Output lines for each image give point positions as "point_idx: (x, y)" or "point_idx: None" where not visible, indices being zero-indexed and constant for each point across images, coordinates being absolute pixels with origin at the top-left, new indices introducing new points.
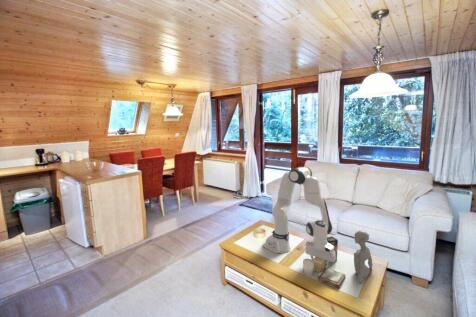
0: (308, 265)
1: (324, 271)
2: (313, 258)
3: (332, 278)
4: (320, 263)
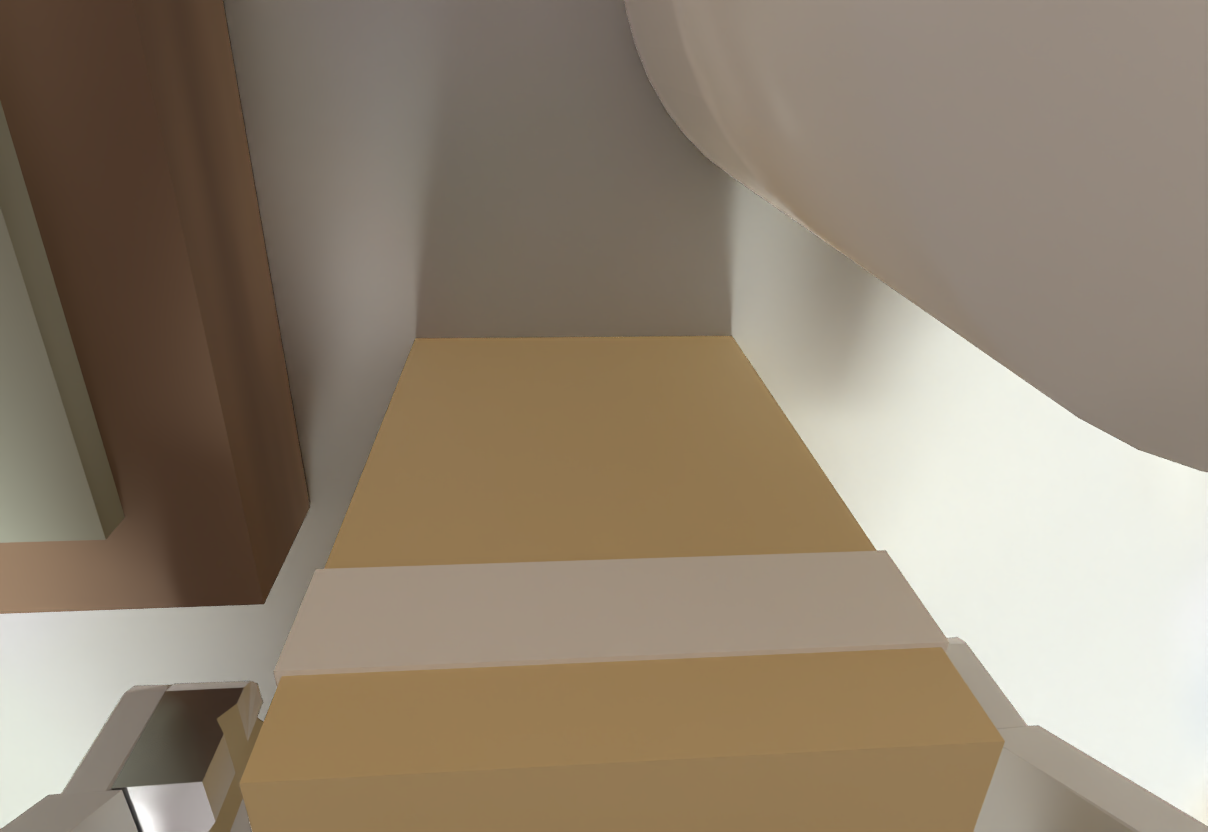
0: None
1: (82, 257)
2: None
3: None
4: (359, 584)
